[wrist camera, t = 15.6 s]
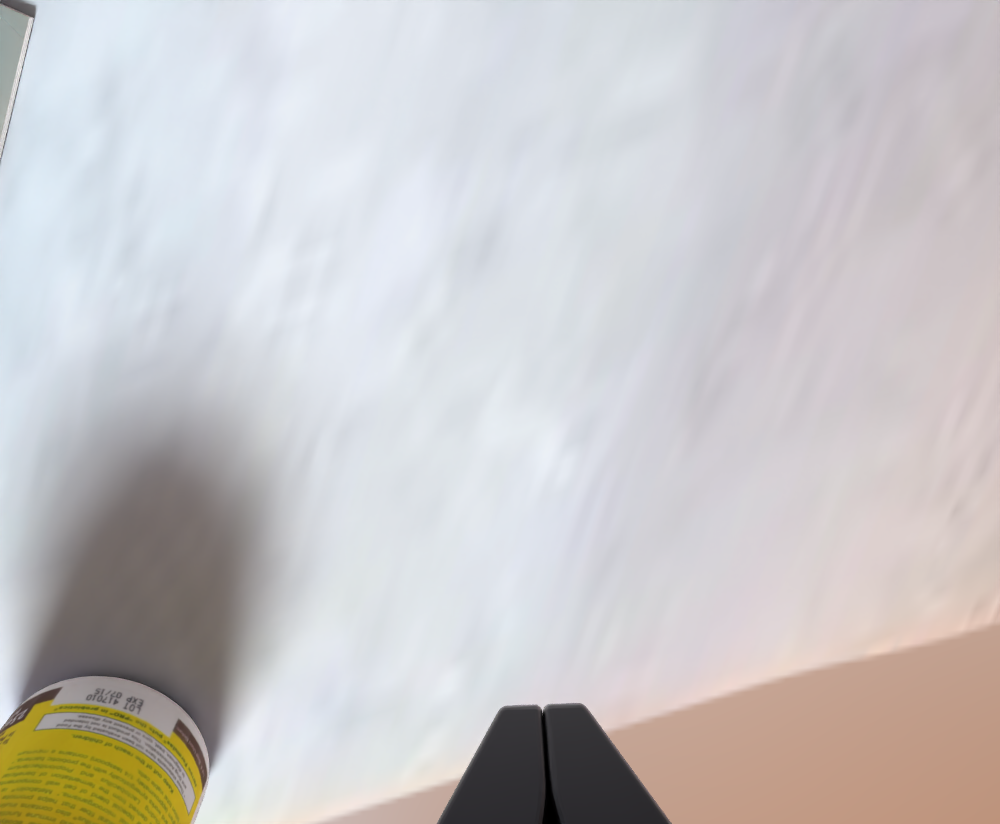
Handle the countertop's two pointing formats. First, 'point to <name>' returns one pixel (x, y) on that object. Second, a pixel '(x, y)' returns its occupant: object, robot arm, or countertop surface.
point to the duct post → (11, 60)
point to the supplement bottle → (101, 757)
